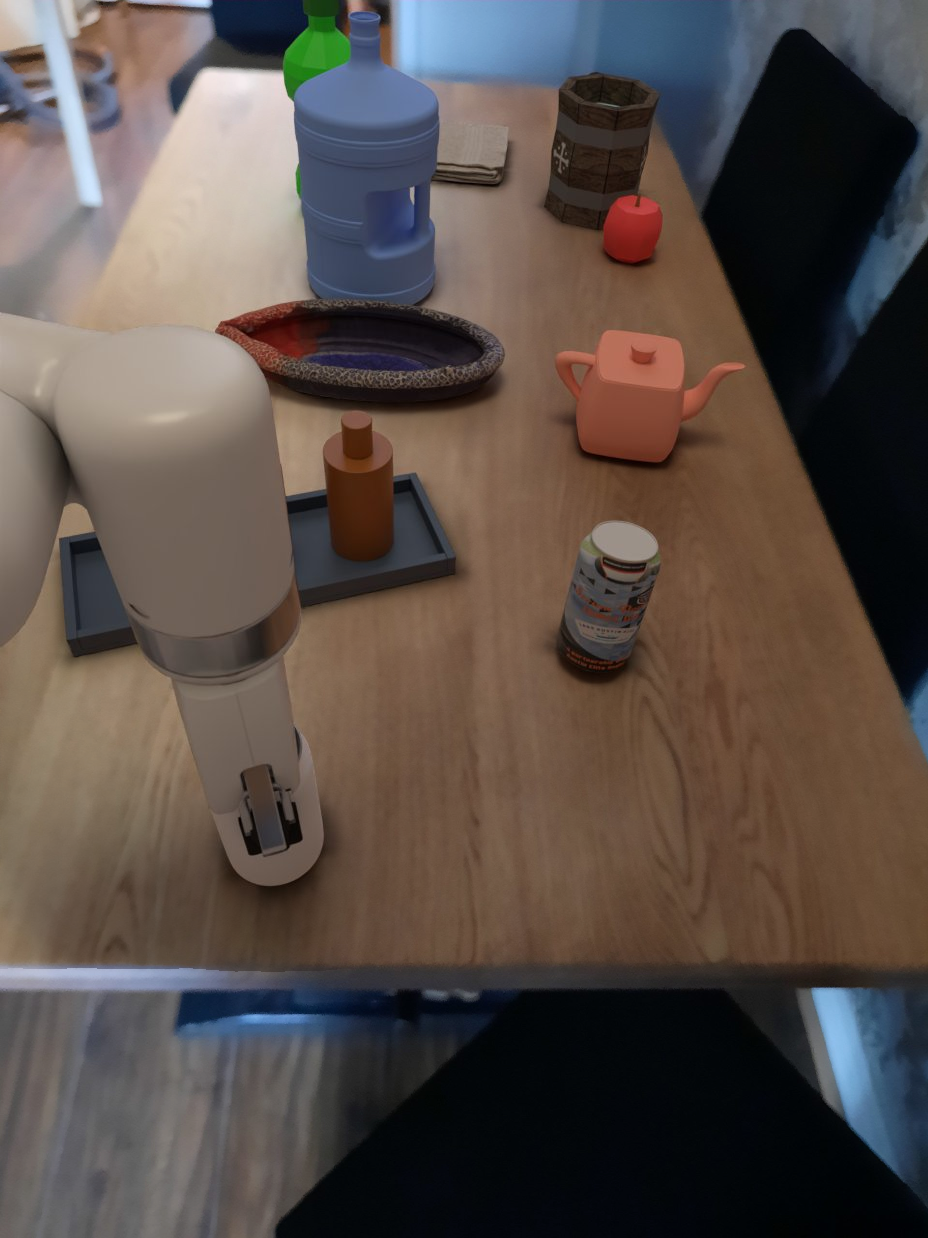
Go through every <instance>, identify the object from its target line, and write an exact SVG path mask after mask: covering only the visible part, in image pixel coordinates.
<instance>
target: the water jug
mask: <svg viewBox="0 0 928 1238" xmlns="http://www.w3.org/2000/svg"><path fill="white" fill-rule="evenodd" d="M347 19H348V21H349V26H350V27H349V28H350V31H349V34H348V39H349V41H350V50H351V55H350V59H349V61H348V62H346V63H344V64H342V65H340V66H338V67H335V68H333V69H331V70H329V71H327V72H325V73H322V74H320V75H318V76H316V77H314V78H311V79H309V80H307V81H306V82H304V83H303V84H302V85H301V86H300V87H299V88H298V89H297V90H296V92H295V95H294V102H293V110H294V111H293V126H294V135H295V136H294V137H295V141H296V143H297V144H296V145H297V156H298V163H299V169H300V180H301V200H300V206H301V213H302V218H303V224H304V236H305V248H306V258H307V259H306V274H307V281H308V283H309V285H310V288H311V289H312V290H313V292H314V293H315V294H316V295H317V296H318V297H319V298H320V299H356V300H371V301H383V302H391V303H399V304H405V305H411V306H414V305H415V304H417V303H419V302H420V301H422V300H423V299H425V298H426V297H427V296H428V295H429V294H430V292H431V291H432V289H433V288H434V285H435V280H436V261H435V251H436V249H435V247H436V246H435V245H436V227H435V223H434V221H433V220H432V219H431V217H430V215H431V214H430V213H431V181H432V180H431V177H432V176H433V174H434V173H435V171H436V168H437V150H438V143H439V128H440V122H441V121H440V115H439V110H440V104H439V98H438V97H437V95H436V93H435V92H434V91H433V89H431V88H430V87H429V86H428V85H426V84H424V83H423V82H421V81H419V80H417V79H415V78H413V77H411V76H409V75H407V74H406V73H404V72H401V71H400V70H398V69H396V68H394V67H392V66H390V65H388V64H386V63H384V62H383V60H382V57H381V43H382V37H381V34H380V23H381V15H380V14H378V13H377V12H373V11H365V10H359V11H353V12H352V11H351V12H350V13H349V14H348V15H347ZM411 188H413V192H414V193H413V198H414V199H413V201H412V199H411Z"/></svg>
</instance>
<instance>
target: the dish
mask: <svg viewBox="0 0 928 1238" xmlns="http://www.w3.org/2000/svg"><path fill="white" fill-rule="evenodd" d="M214 332H215V333H218V334H220V335H222V336H225V337H227V338H229V339H231V340H232V341H234V342H236V343H237V344H239V345H240V346H241V347H242V348H243V349H244V350H245V351H247V352H248V353H249V354H250V355H251V356H252V357H253V358H254V360H255V361H256V363H257V364H258V366H259V368H260V369H261V371H262V373H263V374H264V376H265V379H266V380H268V381H271V382H272V383H274V384H276V385H279V386H281V387H283V388H286V389H288V390H291V391H295V392H299V393H303V394H308V395H314V396H319V397H325V398H333V399H341V400H349V401H350V400H351V401H360V402H361V401H362V402H375V403H376V402H377V403H380V402H383V403H411V402H426V401H427V402H429V401H436V400H443V399H449V398H453V397H457V396H463V395H465V394H468V393H470V392H473V391H475V390H477V389H478V388H480V387H482V386H483V385H485V384H486V383H488V382H489V381H490V380H491V379H492V378H493V377H494V376H495V374H496V373H497V371H498V369H500V368H501V366H502V365H503V364H504V360H505V358H506V357H505V356H506V352H505V351H506V350H505V348H504V346H503V343H501V341H500V340H499V339H498V338H497V337H496V336H495V335H494V333H492V332H490V331H489V330H487V329H486V328H484V327H482V326H480V325H478V324H476V323H474V322H472V321H470V320H467V319H465V318H462V317H459V316H456V315H454V314H450V313H447V312H443V311H438V310H435V309H430V308H427V307H421V306H416V305H405V304H399V303H391V302H383V301H371V300H356V299H322V298H314V299H313V298H311V299H302V300H293V301H287V302H282V303H277V304H274V305H269V306H267V307H263V308H260V309H256V310H252V311H249V312H245V313H243V314H240V315H238V316H235V317H233V318H230V319H225V320H221V321H220V322H219V324H218V325H217V327H216V328H215V330H214Z"/></svg>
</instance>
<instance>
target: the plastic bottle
mask: <svg viewBox="0 0 928 1238" xmlns="http://www.w3.org/2000/svg"><path fill="white" fill-rule="evenodd" d="M302 8H303V14H305V15H307V16H308V17H307V18H308V26H307V27H306V28H305V29H304V30H303V31H302V32H301V33H300V34H299V35H298V36H297V37H296V38H295V39H294V41H293V42H292V43H291V44H290V45H289V46H288V47H287V48H286V49H285V51H284V56H283V60H282V69H283V71H282V73H283V81H284V82H283V83H284V84H283V85H284V87H285V92H286V95H287V97H288V98H289V99H290V100H291V101H292V102H293V103H294V95H295V92H296V90H297V89H298V88H299V87H300V86H301V85H302V84H303V83H304V82H306V81H307V80H309V79H311V78H314V77H316V76H318V75H320V74H322V73H325V72H327V71H329V70H331V69H333V68H335V67H338V66H340V65H342V64H344V63H346V62H348V61H349V59H350V55H351V50H350V41H349V37H347V36H346V35H345V34H344V33H343V32H341V30H339V29H338V28H337V27H336V16H337V15H339V14H340V3H339V0H302ZM295 185H296V193H297V195H298V197H299V200H300V201H301V180H300V169H299V162H298V164H297V167H296V169H295Z"/></svg>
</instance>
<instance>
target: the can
mask: <svg viewBox="0 0 928 1238" xmlns="http://www.w3.org/2000/svg"><path fill="white" fill-rule="evenodd" d="M294 729H295V736H296V745H297V753H298V762H299V772H300V784H299V786H298V788H297V790H296V791H295V792H294V793H293V794H291V791H289V794H290V799H291V802H295V803H296V807H297V811H298V816H299V821H300V826H301V831H302V836H303V840H302V841H301V842H299V843H296V844H293V845H290V848H289V849H288V850H287V851H284V852H282V853H279V854H275V855H271V856H267V857H263V854H258V855H254V856H251V855H249V854H248V852H247V848H246V845H245V842H244V839H243V836H242V833H241V830H240V826H239V822H238V817H240V812H239V809H238V807H237V808H236V810H235V811H234V812H230V813H225V814H220V815H218V814H216V813H214V812H213V811H211V810H210V813H211V816H212V818H213V821H214V823H215V827H216V829H217V831H218V834H219V837H220V841H221V843H222V845H223V848H224V851H225V854H226V856H227V859H228V861H229V863H230V864H231V866H232V869H234V871H235V872H236V873H237V874H238V875H239V876H240V877H241V878H243V879H244V880H245V881H248V882H250V883H252V884H255V885H257V886H258V885H259V886H263V887H265V886H266V887H275V886H281V885H285V884H289V883H291V882H294V881H296V880H297V879H299V878H301V877H302V876H303V875H305V874H306V873H307V872H308V871H309V870H311V868H312V867H313V866H314V865H315V864H316V862H317V860H318V859H319V857H320V855H321V853H322V851H323V846H324V841H325V839H324V838H325V834H324V833H325V831H324V824H323V823H324V822H323V818H322V817H323V816H322V809H321V804H320V797H319V792H318V791H319V790H318V785H317V778H316V773H315V766H314V760H313V756H312V751H311V748H310V746H309V743H308V741H307V739H306V738H305V735H303V733H302V732H301V731H300V730H299V728H298V726H297V725H296V724H295V723H294ZM269 771H271V769H269ZM243 778H245V777H244V776H243ZM274 795H275V799H276V802H277V801H280V803H281V799H280V795H279V791H275V792H274ZM247 800H248V804H249V808H250V812H251V809H252V807H251V803H250V799H247Z"/></svg>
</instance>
